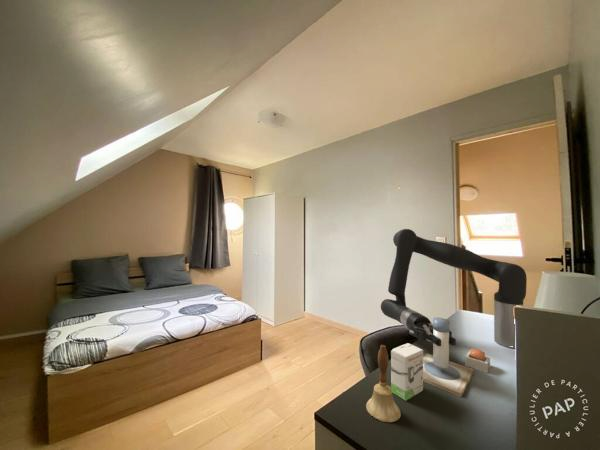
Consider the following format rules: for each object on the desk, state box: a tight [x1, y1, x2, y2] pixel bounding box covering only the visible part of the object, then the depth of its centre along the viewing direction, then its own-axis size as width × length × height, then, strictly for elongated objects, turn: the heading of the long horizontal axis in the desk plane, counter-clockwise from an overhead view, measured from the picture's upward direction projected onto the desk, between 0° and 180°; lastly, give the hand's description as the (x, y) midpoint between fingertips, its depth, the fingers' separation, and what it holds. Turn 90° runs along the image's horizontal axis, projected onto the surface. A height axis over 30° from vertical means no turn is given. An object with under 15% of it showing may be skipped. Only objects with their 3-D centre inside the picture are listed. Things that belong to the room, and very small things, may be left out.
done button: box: [469, 348, 486, 360], centre depth 83 cm, size 4×4×2 cm
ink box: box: [390, 342, 424, 402], centre depth 69 cm, size 9×5×12 cm, turn 123°
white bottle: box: [432, 317, 451, 368], centre depth 78 cm, size 5×5×14 cm
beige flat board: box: [423, 353, 474, 398], centre depth 78 cm, size 17×14×1 cm
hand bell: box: [365, 344, 402, 423], centre depth 62 cm, size 8×8×16 cm
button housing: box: [464, 350, 491, 374], centre depth 83 cm, size 6×6×3 cm
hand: (447, 342), depth 75 cm, fingers closed on white bottle, 4 cm apart
